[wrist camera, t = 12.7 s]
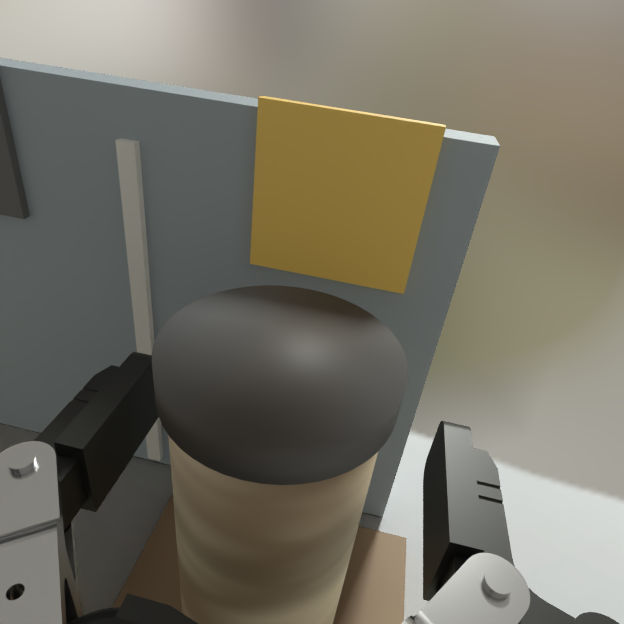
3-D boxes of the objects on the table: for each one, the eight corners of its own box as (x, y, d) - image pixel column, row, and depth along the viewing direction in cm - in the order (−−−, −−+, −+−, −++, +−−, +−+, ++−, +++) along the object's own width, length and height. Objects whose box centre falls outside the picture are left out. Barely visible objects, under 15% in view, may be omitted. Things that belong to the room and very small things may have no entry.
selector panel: (-70, 411, 23) (-239, 18, 14) (-45, 391, 24) (-186, 18, 16) (381, 523, 21) (505, 136, 12) (384, 494, 22) (497, 125, 13)
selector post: (149, 698, 15) (95, 405, 8) (212, 541, 19) (210, 270, 12) (317, 748, 14) (404, 476, 8) (342, 575, 18) (411, 308, 12)
